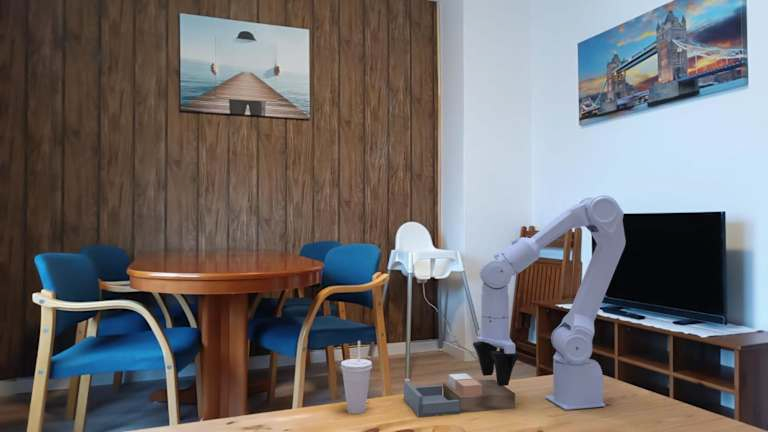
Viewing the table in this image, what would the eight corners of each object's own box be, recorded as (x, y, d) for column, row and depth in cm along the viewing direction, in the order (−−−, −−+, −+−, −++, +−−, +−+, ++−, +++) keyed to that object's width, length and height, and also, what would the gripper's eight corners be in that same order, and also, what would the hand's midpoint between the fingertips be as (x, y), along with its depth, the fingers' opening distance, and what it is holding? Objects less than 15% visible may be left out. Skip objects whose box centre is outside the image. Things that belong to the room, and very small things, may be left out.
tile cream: (465, 382, 115) (465, 373, 115) (473, 387, 111) (472, 378, 111) (448, 383, 114) (448, 374, 114) (455, 389, 110) (455, 379, 110)
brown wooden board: (493, 392, 117) (493, 379, 117) (515, 407, 108) (515, 393, 108) (443, 396, 115) (443, 383, 115) (460, 412, 105) (460, 397, 105)
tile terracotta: (474, 388, 111) (474, 379, 111) (481, 394, 107) (481, 384, 107) (456, 390, 110) (456, 380, 110) (463, 396, 106) (463, 386, 106)
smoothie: (368, 417, 102) (368, 345, 103) (336, 414, 104) (336, 343, 104) (375, 406, 109) (375, 338, 109) (345, 404, 110) (345, 337, 110)
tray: (441, 396, 115) (441, 377, 115) (459, 413, 104) (459, 393, 104) (403, 399, 113) (403, 380, 113) (418, 417, 102) (418, 396, 102)
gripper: (464, 311, 119) (464, 372, 118) (492, 322, 104) (492, 391, 104) (493, 310, 120) (493, 370, 120) (524, 321, 106) (524, 389, 106)
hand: (495, 380), depth 112 cm, fingers open, 7 cm apart
